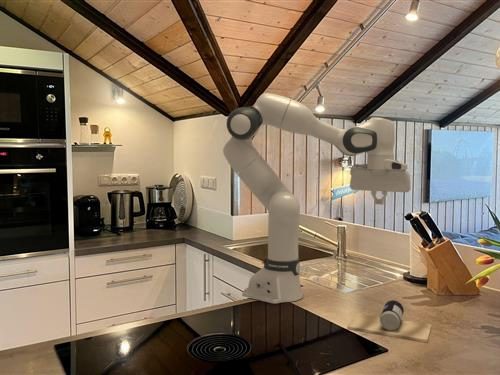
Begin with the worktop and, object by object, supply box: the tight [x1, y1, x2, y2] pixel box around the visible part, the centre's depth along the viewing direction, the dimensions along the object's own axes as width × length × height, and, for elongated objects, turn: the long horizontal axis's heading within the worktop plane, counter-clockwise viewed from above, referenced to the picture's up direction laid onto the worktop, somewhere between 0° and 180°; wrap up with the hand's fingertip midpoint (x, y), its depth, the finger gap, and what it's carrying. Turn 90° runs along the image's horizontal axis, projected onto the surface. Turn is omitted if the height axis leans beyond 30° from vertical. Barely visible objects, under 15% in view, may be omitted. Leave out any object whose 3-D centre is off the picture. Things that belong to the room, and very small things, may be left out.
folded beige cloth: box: [347, 312, 432, 344], centre depth 128 cm, size 22×12×1 cm, turn 63°
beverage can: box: [379, 299, 405, 330], centre depth 129 cm, size 6×6×12 cm
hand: (378, 204), depth 150 cm, fingers closed
